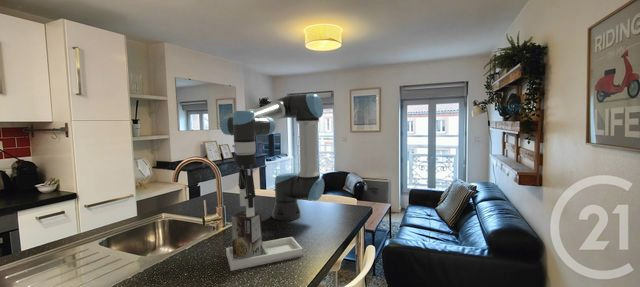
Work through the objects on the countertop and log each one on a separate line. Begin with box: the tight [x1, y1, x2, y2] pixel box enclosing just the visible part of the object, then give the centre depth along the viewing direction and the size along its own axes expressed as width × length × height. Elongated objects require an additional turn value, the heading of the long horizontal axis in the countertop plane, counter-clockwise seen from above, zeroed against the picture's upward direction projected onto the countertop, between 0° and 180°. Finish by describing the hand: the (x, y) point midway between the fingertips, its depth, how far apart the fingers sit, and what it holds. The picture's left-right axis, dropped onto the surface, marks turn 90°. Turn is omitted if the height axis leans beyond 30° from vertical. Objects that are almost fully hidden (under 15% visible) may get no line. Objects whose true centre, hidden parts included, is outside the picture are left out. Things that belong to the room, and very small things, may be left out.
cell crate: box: [225, 236, 304, 272], centre depth 111 cm, size 13×26×3 cm, turn 114°
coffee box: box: [231, 210, 263, 259], centre depth 109 cm, size 9×6×16 cm
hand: (246, 210), depth 108 cm, fingers open, 13 cm apart
